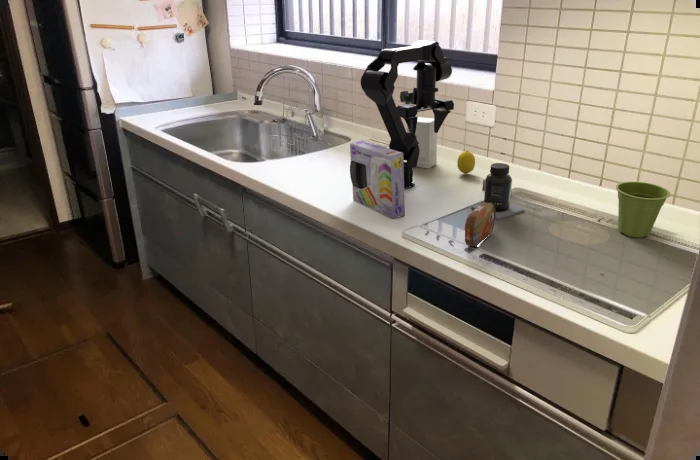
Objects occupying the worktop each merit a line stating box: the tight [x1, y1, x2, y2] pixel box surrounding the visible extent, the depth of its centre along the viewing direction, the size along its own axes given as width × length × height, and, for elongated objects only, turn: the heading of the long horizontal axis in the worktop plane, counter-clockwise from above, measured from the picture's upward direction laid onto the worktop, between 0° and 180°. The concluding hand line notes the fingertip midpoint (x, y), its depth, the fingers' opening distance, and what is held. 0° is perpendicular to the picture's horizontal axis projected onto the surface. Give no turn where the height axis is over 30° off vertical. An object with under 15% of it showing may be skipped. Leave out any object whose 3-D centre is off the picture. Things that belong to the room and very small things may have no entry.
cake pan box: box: [349, 139, 406, 219], centre depth 159 cm, size 19×5×18 cm, turn 36°
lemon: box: [456, 149, 476, 176], centre depth 186 cm, size 6×6×8 cm
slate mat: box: [470, 202, 525, 220], centre depth 160 cm, size 10×10×1 cm
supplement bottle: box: [483, 162, 513, 212], centre depth 157 cm, size 7×7×12 cm
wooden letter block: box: [482, 178, 486, 192], centre depth 173 cm, size 5×5×4 cm
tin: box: [464, 201, 496, 248], centre depth 141 cm, size 15×3×8 cm, turn 148°
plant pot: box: [615, 181, 671, 239], centre depth 142 cm, size 12×12×11 cm
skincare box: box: [406, 116, 438, 170], centre depth 194 cm, size 8×7×16 cm
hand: (424, 135), depth 183 cm, fingers open, 9 cm apart
